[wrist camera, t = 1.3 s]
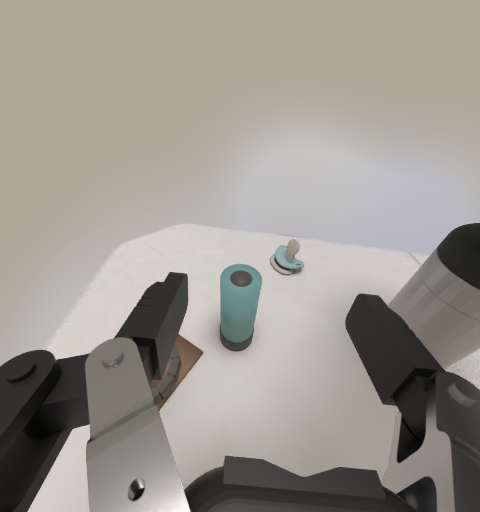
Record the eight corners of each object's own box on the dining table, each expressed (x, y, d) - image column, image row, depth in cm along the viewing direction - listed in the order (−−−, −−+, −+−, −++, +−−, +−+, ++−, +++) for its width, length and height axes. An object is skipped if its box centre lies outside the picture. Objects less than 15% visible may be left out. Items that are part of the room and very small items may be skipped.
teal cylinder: (231, 315, 36) (234, 258, 27) (257, 331, 34) (270, 274, 25) (213, 339, 32) (210, 282, 24) (241, 358, 30) (249, 303, 22)
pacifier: (281, 280, 43) (305, 272, 45) (286, 257, 39) (313, 249, 40) (264, 257, 48) (287, 251, 50) (267, 235, 44) (292, 229, 45)
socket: (159, 322, 34) (155, 312, 32) (203, 353, 31) (201, 344, 29) (82, 394, 26) (73, 387, 24) (131, 446, 23) (123, 442, 21)
